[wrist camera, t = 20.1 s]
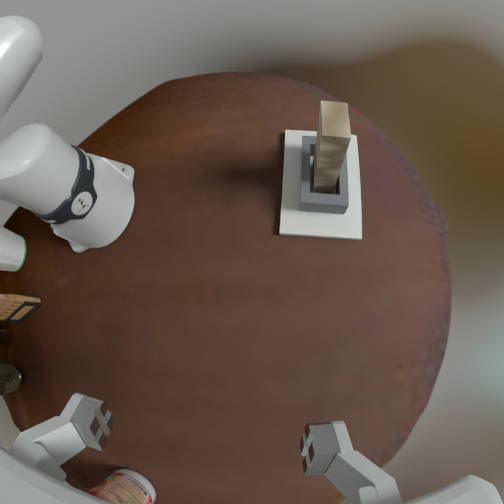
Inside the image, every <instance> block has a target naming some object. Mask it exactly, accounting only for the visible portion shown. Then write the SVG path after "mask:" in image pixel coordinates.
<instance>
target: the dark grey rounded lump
mask: <svg viewBox="0 0 504 504" xmlns="http://www.w3.org/2000/svg"><path fill="white" fill-rule="evenodd" d="M23 380H24V377H23V374H22V372H21V370H20V369H18V368H15V367H14V366H13V365H11V364H9V363H3V362H0V395H4V394H7V393H10V392H13V391H15V390H16V389H17V388H18V387H19V385H20V384H21V383H22V382H23Z"/></svg>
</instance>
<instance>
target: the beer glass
mask: <svg viewBox="0 0 504 504" xmlns="http://www.w3.org/2000/svg"><path fill="white" fill-rule="evenodd" d="M11 340H12V333H11V328H10V326H9V324H8V323H7V322H4V321H1V322H0V345H3V346H9V345H10V344H11Z"/></svg>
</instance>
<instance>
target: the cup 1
mask: <svg viewBox="0 0 504 504" xmlns="http://www.w3.org/2000/svg"><path fill="white" fill-rule="evenodd" d="M25 257H26V242H25V239H24V238H23V237H22V236H19V235H17V234H15V233H13V232H11V231H9V230H8V229H6V228H4V227H2V226H0V270H3V271H18V270H19V269H20V268H21V267H22V265H23V263H24V260H25Z"/></svg>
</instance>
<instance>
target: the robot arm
mask: <svg viewBox="0 0 504 504" xmlns="http://www.w3.org/2000/svg"><path fill="white" fill-rule="evenodd" d="M42 58H43V39H42V36H41V33H40V31H39V29H38V27H37V26H36V25H35V24H34V23H33V22H32V21H31V20H29V19H27V18H25V17H22V16H5V17H1V18H0V121H1V120H2V118H3V117H4V115H5V114H6V112H7V111H8V110H9V108H10V107H11V105H12V104H13V103H14V101H15V100H16V99H17V97H18V96H19V94H20V93H21V92H22V90H23V89H24V87H25V86H26V84H27V82H28V81H29V79H30V77H31V76H32V74H33V73H34V71H35V69H36V68H37V66H38V65H39V63H40V62H41V60H42ZM123 170H124V171H123ZM133 178H134V169H133V168H132V167H131V166H129V165H125V164H122V163H119V162H116V161H113V160H109V159H106V158H104V157H100V156H96V155H93V154H89V153H87V154H86V153H85V152H84V151H83V150H81V149H79V148H77V147H76V146H73V145H69V144H68V143H67V142H66V141H64V140H63V139H62V138H61V137H60V136H59V135H58V134H56V133H55V132H54V131H53V130H52V129H50V128H49V127H48V126H46V125H44V124H40V123H34V124H30V125H26V126H23V127H21V128H19V129H18V130H16V131H15V132H14V133H12V134H11V135H9V136H8V137H7V138H5V139H3V140H1V141H0V200H4V201H7V202H10V203H13V204H16V205H18V206H21V207H23V208H26V209H28V210H31V211H33V213H34V214H35V215H36V216H37V217H39V218H40V219H42V220H43V221H45V222H49V223H51V225H50V226H51V228H52V229H53V230H54V233H55V234H56V235H58V236H60V237H62V238H64V239H66V240H68V241H69V243H70V245H71V247H72V249H73V250H74V251H75V252H77V253H81V252H83V251H85V250H86V249H88V248H100V247H104V246H106V245H108V244H110V243H111V242H113V241H114V240H115V239H117V238H118V237H119V236H120V234H121V233H122V232H123V231H124V229H125V228H126V226H127V224H128V222H129V220H130V218H131V215H132V212H133V208H134V191H133V186H132V182H133ZM108 408H109V406H108V404H107V402H104V401H101V400H98V399H94V398H91V397H88V396H85V395H82V394H79V393H75V394H73V396H72V397H71V399H70V400H69V402H68V403H67V405H66V407H65V408H64V410H63V411H62V413H61V415H60V416H59V417H58V416H55V417H53V418H51V419H49V420H47V421H45V422H43V423H41V424H39V425H37V426H34V427H32V428H30V429H28V430H26V431H23V432H21V433H20V434H19V436H18V437H17V439H16V441H15V442H14V443H13V445H12V447H11V448H10V450H9V452H8V451H7V450H5V449H4V448H2V447H1V446H0V504H116V503H113V502H110V501H107V500H104V499H101V498H99V497H96V496H93V495H91V494H88V493H86V492H83V491H81V490H79V489H76V488H74V487H72V486H69V485H67V484H65V483H64V481H65V478H66V473H65V472H64V471H63V470H62V469H61V467H60V465H61V464H63V463H64V462H66V461H67V460H68V459H70V458H71V457H73V456H74V455H76V454H77V453H78V452H80V451H81V450H83V449H84V448H85V447H86V446H88V447H92V448H95V449H98V450H101V451H103V449H104V447H105V445H106V443H107V437H106V435H108V434H109V433H111V431H112V428H113V422H114V421H113V416H112V414H111V413H110V412H109V411H108ZM304 429H305V433H304V434H302V437H301V443H300V450H301V455H303V456H304V457H305V458H304V460H303V462H302V464H303V471H304V475H315V474H324V475H325V476H326V477H327V478H328V479H329V480H330V481H331V483H332V484H333V485H334V486H335V487H336V488H337V489H338V490H339V491H340V492H341V493H342V494H343V495H344V496H345V497H346V498H347V499H348V500H349V501H348V502H347V503H346V504H503V503H502V501H501V498H500V496H499V494H498V491H497V490H496V488H495V487H494V486H493V485H492V484H490V483H489V482H487V481H485V480H483V479H481V478H478V477H476V476H473V475H468V476H465V477H463V478H461V479H459V480H457V481H455V482H453V483H451V484H448V485H446V486H444V487H442V488H440V489H437V490H435V491H433V492H430V493H428V494H425V495H423V496H420V497H417V498H415V499H412V500H409V501H406V502H403V503H402V500H401V497H400V494H399V491H398V488H397V485H396V482H395V479H394V478H392V477H390V476H389V475H388V474H387V473H385V472H384V471H383V470H381V469H380V468H379V467H377V466H376V465H375V464H373V463H372V462H371V461H369V460H368V459H367V458H365V457H364V456H363V455H362V454H360V453H359V452H358V451H353V448H352V445H351V441H350V438H349V435H348V432H347V428H346V425H345V423H344V422H343V421H336V422H321V423H307V424H306V426H305V428H304Z"/></svg>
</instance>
